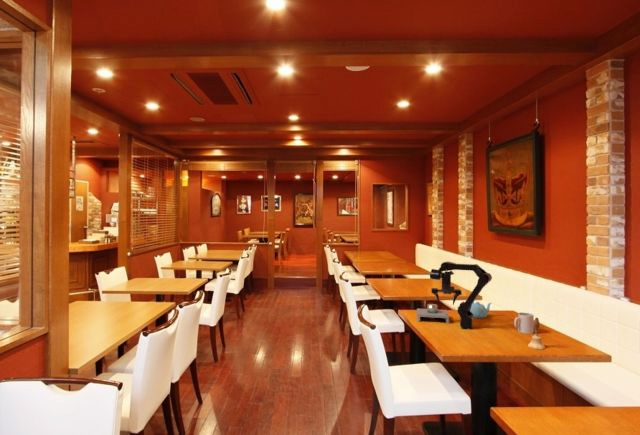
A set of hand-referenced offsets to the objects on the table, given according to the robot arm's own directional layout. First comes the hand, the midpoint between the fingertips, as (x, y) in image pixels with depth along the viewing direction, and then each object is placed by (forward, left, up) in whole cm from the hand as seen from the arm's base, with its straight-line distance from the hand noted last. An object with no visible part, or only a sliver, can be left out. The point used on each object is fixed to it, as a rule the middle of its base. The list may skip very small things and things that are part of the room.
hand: (445, 304), depth 250 cm
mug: (-45, +7, -13) cm, 47 cm away
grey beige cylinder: (+8, -9, -12) cm, 17 cm away
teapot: (-24, -26, -13) cm, 38 cm away
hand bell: (-44, +34, -13) cm, 57 cm away
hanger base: (+8, -9, -13) cm, 18 cm away
